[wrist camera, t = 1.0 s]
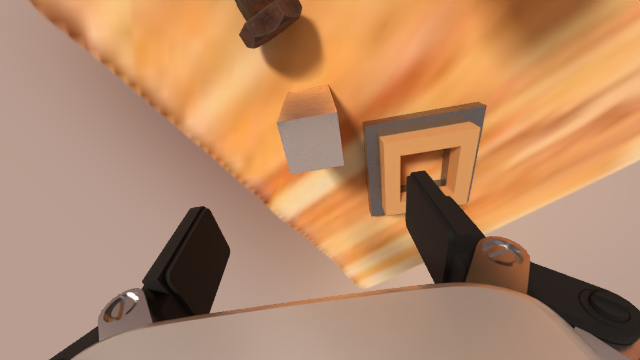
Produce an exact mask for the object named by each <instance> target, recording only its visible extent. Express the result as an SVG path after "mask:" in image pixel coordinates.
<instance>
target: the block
mask: <svg viewBox="0 0 640 360" xmlns="http://www.w3.org/2000/svg"><path fill="white" fill-rule="evenodd" d="M277 125H278V129H279V133H280V136H281V140H282V144H283V148H284V151H285V155H286V159H287V162H288V166H289V170H290V174H296V173H302V172H308V171H314V170H320V169H326V168H332V167H339V166H344V160H343V153H342V145H341V137H340V130H339V122H338V114H337V110H336V107H335V104H334V101H333V98H332V95H331V92H330V89H329V86H328V85H324V86H319V87H313V88H308V89H302V90H297V91H291V92H287V95H286V98H285V101H284V104H283V106H282V109H281V112H280V115H279V118H278V121H277Z"/></svg>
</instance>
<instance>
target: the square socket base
mask: <svg viewBox="0 0 640 360" xmlns="http://www.w3.org/2000/svg"><path fill="white" fill-rule="evenodd" d="M485 110H486V105H484V104H481V103H479V102H476V103H470V104H464V105H458V106H453V107H447V108H441V109H435V110H430V111H424V112H418V113H412V114H407V115H401V116H395V117H389V118H383V119H378V120H372V121H366V122H363V134H364V147H365V160H366V172H367V185H368V198H369V210H370V213H371V216H378V215H385V214H386V216H389V215H396V214H403V213H406V185H404V186H400V156H403V155H409V154H415V153H421V152H427V151H434V150H440V149H444V155H443V164H442V173H441V180H436V181H434V182H435V183H436V185H437V186H438V187H439V188H440V189H441V191H442V192H443V193H444V194H445V195H446V196H450V197H451V198H453V200H454V201H455V202H456V203H457V204H458V205H462V204H467V202H468V200H469V195H470V189H471V184H472V179H473V174H474V168H475V163H476V158H477V152H478V147H479V142H480V137H481V131H482V126H483V121H484V115H485Z"/></svg>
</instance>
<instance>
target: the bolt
mask: <svg viewBox="0 0 640 360" xmlns="http://www.w3.org/2000/svg"><path fill="white" fill-rule="evenodd" d="M235 1H236V3H237V7H238V8H239V10H240V12H241V13H242V15H243V16H244V18H245V20H246V21H247V22H246V23H245V24H244V26H243V28H242V30H241V32H240V34H239V36H240V37H241V39H242V40H243V42H244V43H245V45H246V46H247V47H248V48H257V47H259V46H261V45H263V44H264V43H266V42H267V41H269V40H270V39H272V38H273V37H275V36H276V35H278V34H279V33H281V32H282V31H284V30H285V29H286V28H287V27H289V26H290V25H291V24H292V23H293V22H295V21H296V20H297V19H298V18H299V17H300V14H301V11H302V6H301V4H300V2H299V0H235Z"/></svg>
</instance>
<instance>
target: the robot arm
mask: <svg viewBox="0 0 640 360" xmlns="http://www.w3.org/2000/svg"><path fill="white" fill-rule="evenodd" d="M406 226H407V229H408V231H409V233H410V235H411V237H412V239H413V241H414V243H415V245H416V247H417V249H418V251H419V253H420V255H421V257H422V259H423V261H424V263H425V265H426V266H427V268H428V271H429V273H430V275H431V277H432V279H433V281H434V283H435V284H426V285H418V286H409V287H400V288H392V289H384V290H376V291H369V292H362V293H354V294H346V295H339V296H331V297H325V298H317V299H309V300H302V301H295V302H288V303H281V304H273V305H267V306H259V307H252V308H245V309H238V310H231V311H225V312H218V313H210V310H211V307H212V304H213V301H214V298H215V296H216V293H217V290H218V287H219V284H220V281H221V278H222V275H223V273H224V270H225V267H226V264H227V261H228V258H229V255H230V248H229V246H228V244H227V242H226V240H225V238H224V236H223V234H222V232H221V230H220V229H219V227H218V224H217V222H216V220H215V218H214V217H213V215H212V213H211V211H210V210H209V209H208V208H207V209H206V207H204V206H201V207H195V208H191V209H190V210H189V211H188V213H187V214H186V216H185V217H184V219H183V220H182V222H181V223H180V225H179V226H178V228H177V229H176V231H175V232H174V234H173V235H172V237H171V238H170V240H169V241H168V243H167V244H166V246H165V247H164V249H163V250H162V252H161V253H160V255H159V256H158V258H157V259H156V261H155V262H154V264H153V265H152V267H151V268H150V270H149V271H148V273H147V274H146V276H145V278H144V279H143V281H142V283H143V284H144V286H143V288H142V289H139V288H134V289H130V290H127V291H125V292H123V293H121V294H119V295H118V296H116V297H115V298H113V299H112V300H111V301H110V302H109V303H108V304H107V305H106V306H105V307H104V309H103V310H102V311H101V313H100V315H99V319H98V326H97V327H96V328H94V329H93V330H91V331H90V332H89V333H87V334H86V335H84V336H83V337H81V338H80V339H79V340H77V341H76V342H74V343H73V344H71V345H70V346H68V347H67V348H66V349H64V350H63V351H61V352H60V353H58V354H57V355H55V356H54V357H53V358H51V359H50V360H640V311H639V310H638V309H637V308H636V307H635V306H634V305H632V304H631V303H630V302H629V301H627V300H626V299H624V298H622V297H620V296H619V295H617V294H615V293H613V292H610V291H608V290H606V289H603V288H600V287H597V286H595V285H592V284H589V283H586V282H584V281H581V280H578V279H576V278H573V277H570V276H567V275H565V274H562V273H559V272H557V271H554V270H551V269H548V268H546V267H543V266H540V265H537V264H535V263H532V262H530V256H529V255H528V253H527V251H526V250H525V249H524V248H522V246H520V245H519V244H517V243H515V242H514V241H511V240H509V239H506V238H502V237H493V236H490V237H485V236H484V234H483V233H482V232H481V231H480V230H479V229H478V227H477V226H476V225H475V224H474V223H473V222H472V220H471V219H470V218H469V217H468V216H467V215H466V213H465V212H464V211H463V210H462V209H461V208H460V207H459V205H458V204H457V203H456V202H455V201H454V200H453V198H451V197H450V196H446V195H445V194H444V193H443V192H442V191H441V189H440V188H439V187H438V186H437V185H436V183H435V182H434V181H433V180H432V179H431V177H430V176H429V175H428V174H427V173H426V171H418V172H412V173H411V174H410V176H407V182H406ZM209 313H210V314H209Z"/></svg>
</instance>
